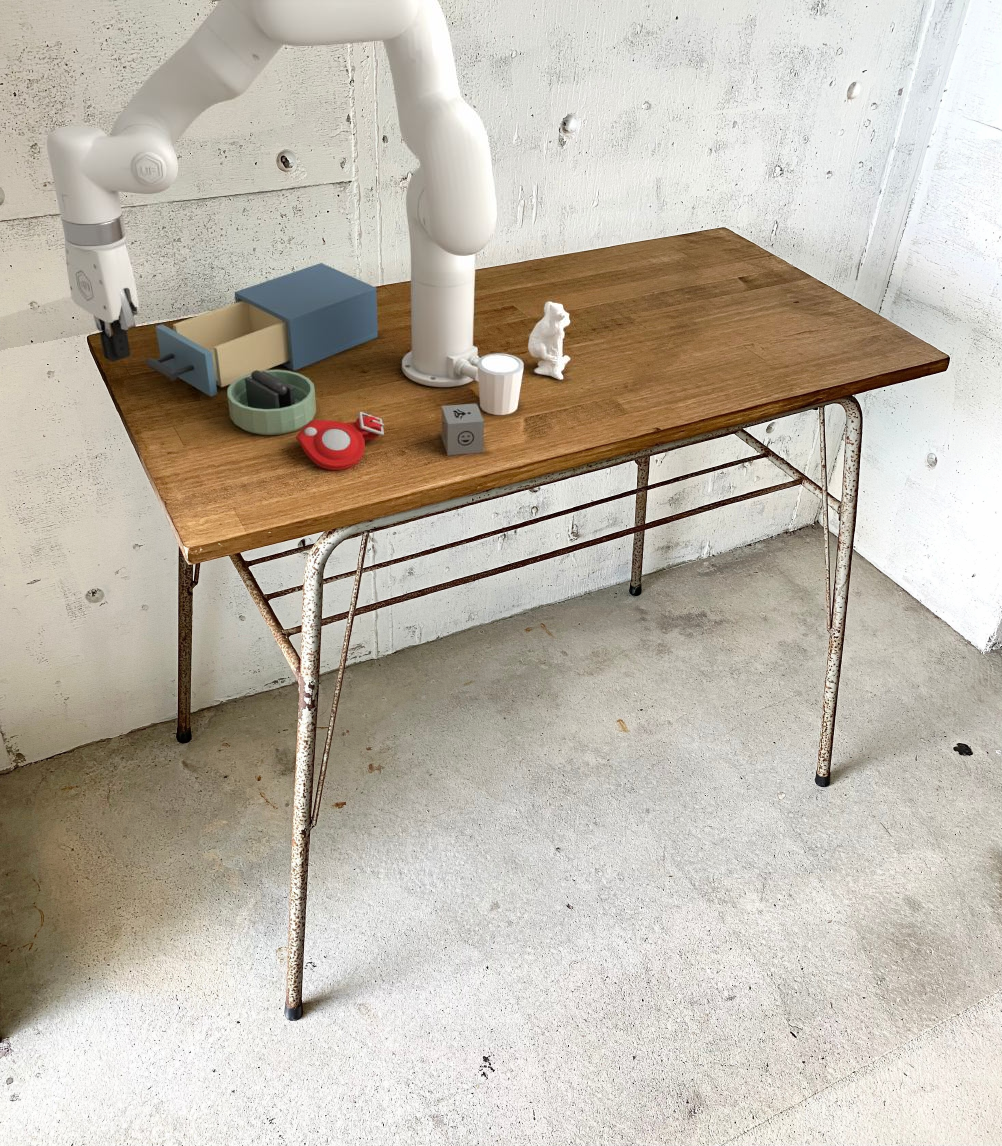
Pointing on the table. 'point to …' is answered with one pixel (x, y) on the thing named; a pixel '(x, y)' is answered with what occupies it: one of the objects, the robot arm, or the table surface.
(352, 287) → the cabinet
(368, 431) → the tracker holder
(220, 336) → the drawer
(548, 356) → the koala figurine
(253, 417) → the bowl
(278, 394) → the grey roller rack
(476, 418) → the dice cube
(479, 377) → the white faceted cup
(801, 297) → the table surface
